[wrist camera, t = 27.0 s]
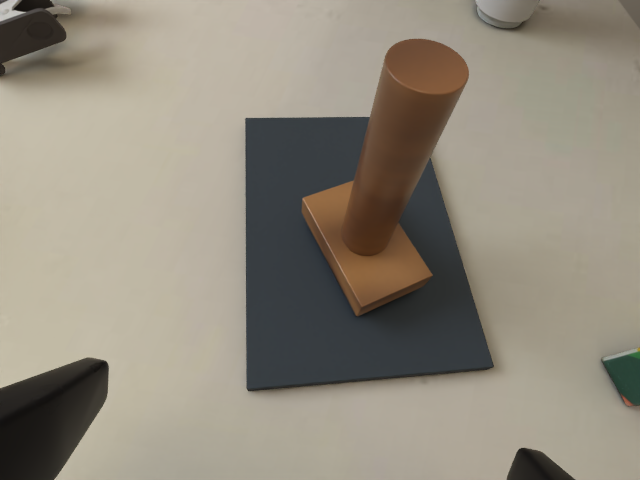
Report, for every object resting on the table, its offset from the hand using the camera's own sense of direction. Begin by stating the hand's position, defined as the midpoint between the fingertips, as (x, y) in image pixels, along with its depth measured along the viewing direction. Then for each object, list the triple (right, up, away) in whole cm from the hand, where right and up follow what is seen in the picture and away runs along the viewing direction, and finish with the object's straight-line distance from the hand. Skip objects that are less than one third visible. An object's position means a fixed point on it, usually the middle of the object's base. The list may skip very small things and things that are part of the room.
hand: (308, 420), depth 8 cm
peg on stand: (+3, +3, +16) cm, 17 cm away
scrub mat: (+2, +5, +18) cm, 19 cm away
